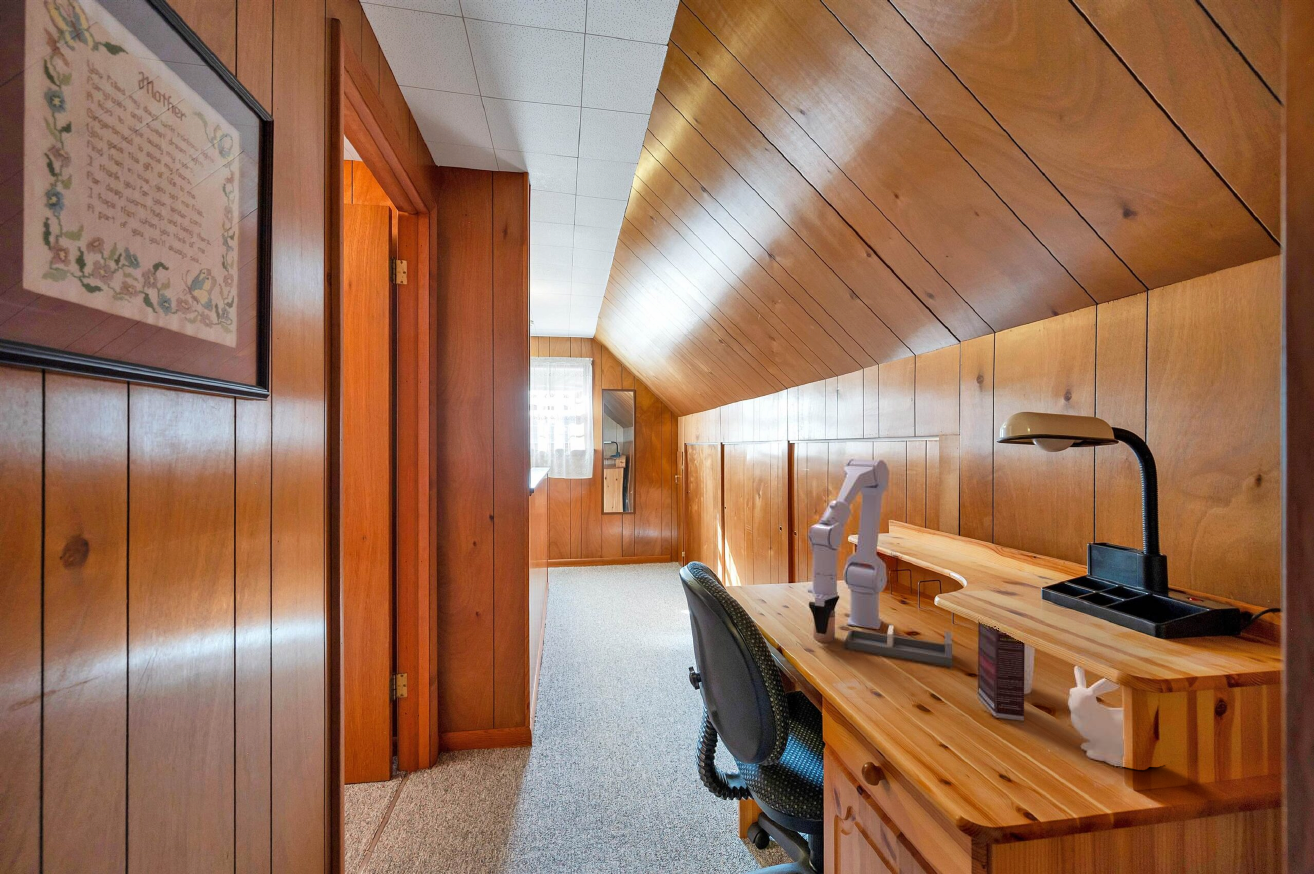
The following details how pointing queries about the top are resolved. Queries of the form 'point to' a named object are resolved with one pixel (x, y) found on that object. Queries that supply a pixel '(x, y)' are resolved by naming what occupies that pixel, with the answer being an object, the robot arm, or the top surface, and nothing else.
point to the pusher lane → (902, 647)
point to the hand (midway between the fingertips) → (824, 628)
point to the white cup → (1028, 668)
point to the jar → (830, 632)
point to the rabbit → (1097, 720)
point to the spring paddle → (890, 636)
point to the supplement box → (1001, 673)
